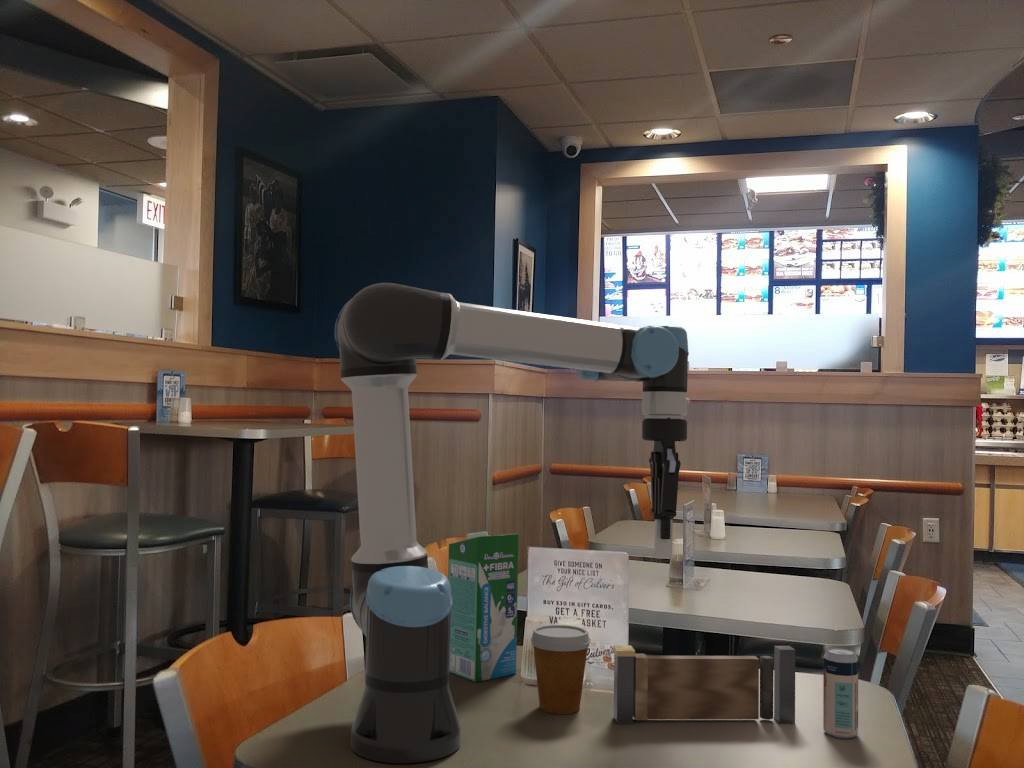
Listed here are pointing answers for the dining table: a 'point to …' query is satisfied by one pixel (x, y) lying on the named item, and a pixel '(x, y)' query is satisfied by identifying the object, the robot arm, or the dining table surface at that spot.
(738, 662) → the garden gate
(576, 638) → the disposable coffee cup
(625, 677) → the post
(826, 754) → the dining table surface
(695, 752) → the dining table surface
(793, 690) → the hinge post
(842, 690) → the supplement bottle
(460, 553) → the milk carton
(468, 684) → the dining table surface
